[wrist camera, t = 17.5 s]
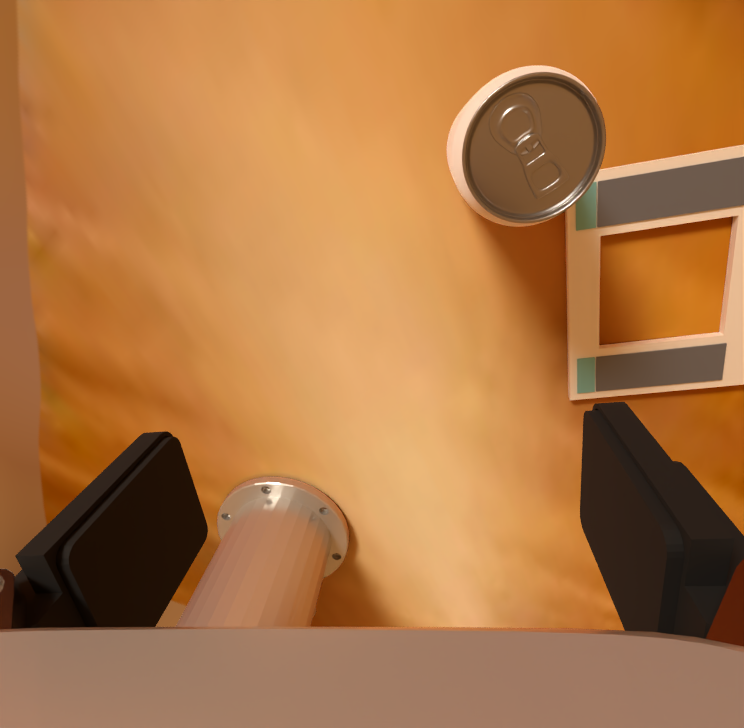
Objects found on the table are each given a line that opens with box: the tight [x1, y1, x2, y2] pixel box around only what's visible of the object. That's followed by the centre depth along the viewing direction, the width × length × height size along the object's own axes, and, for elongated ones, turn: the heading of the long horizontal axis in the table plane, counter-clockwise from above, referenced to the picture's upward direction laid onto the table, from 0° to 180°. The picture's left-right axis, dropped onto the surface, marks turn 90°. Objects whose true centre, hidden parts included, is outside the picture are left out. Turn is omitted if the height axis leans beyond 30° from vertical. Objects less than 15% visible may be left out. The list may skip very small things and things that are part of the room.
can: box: [447, 66, 606, 227], centre depth 25 cm, size 6×6×12 cm
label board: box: [565, 145, 744, 400], centre depth 32 cm, size 16×12×1 cm
